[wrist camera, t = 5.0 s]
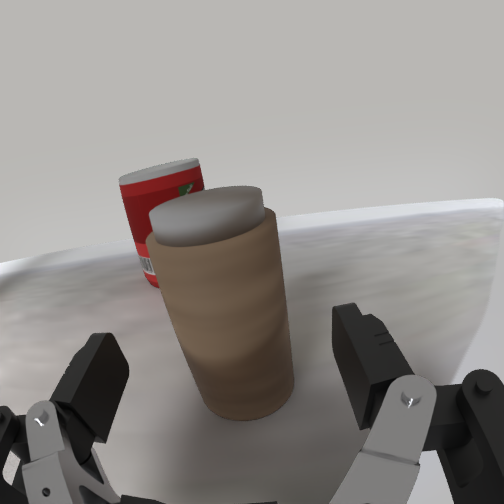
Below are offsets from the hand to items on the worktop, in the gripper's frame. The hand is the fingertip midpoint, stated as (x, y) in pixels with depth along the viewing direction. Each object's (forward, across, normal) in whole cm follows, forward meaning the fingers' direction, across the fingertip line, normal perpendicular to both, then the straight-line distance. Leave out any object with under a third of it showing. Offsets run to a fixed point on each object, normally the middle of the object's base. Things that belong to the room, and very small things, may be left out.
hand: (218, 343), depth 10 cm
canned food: (+19, +6, +6) cm, 21 cm away
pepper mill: (+3, 0, +6) cm, 7 cm away
